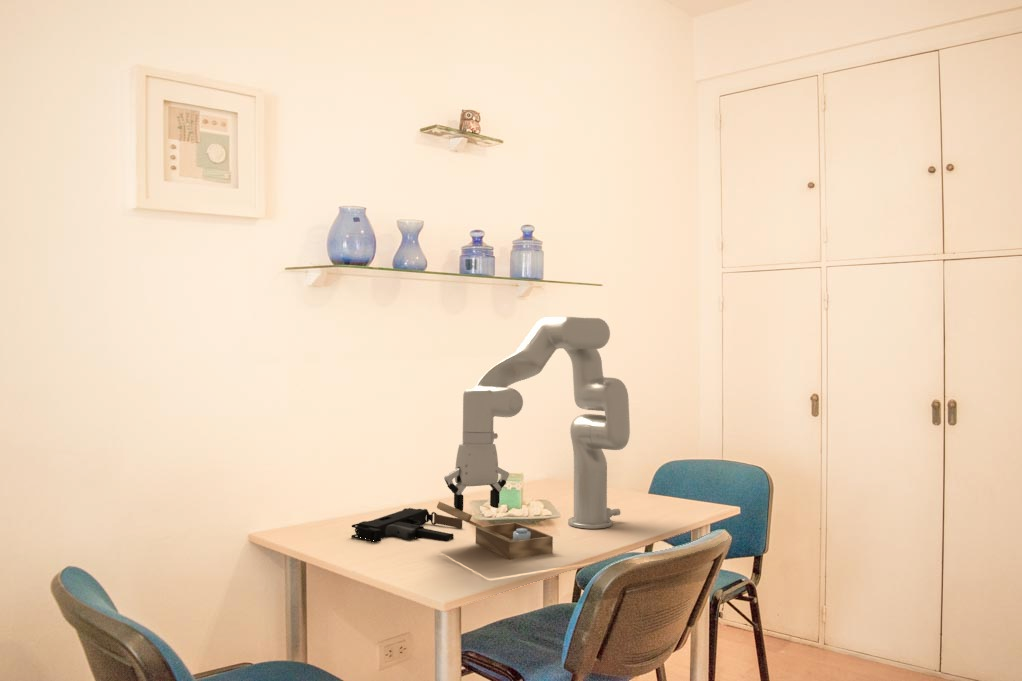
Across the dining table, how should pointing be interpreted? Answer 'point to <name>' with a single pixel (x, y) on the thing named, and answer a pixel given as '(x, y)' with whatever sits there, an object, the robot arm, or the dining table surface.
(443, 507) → the lid
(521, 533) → the blue jar
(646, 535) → the dining table surface
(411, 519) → the submachine gun
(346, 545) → the dining table surface
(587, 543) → the dining table surface
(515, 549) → the box
